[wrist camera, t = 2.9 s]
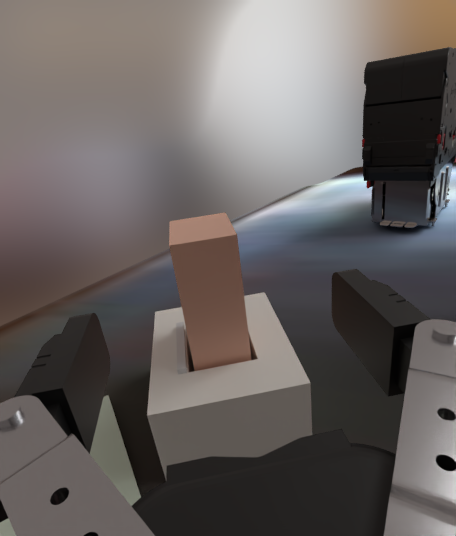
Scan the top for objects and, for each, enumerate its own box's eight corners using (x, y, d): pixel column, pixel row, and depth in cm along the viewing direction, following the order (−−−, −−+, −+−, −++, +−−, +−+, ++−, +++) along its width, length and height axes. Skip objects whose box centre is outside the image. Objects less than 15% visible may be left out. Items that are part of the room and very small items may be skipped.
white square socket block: (168, 364, 35) (154, 308, 32) (269, 345, 35) (264, 288, 33) (166, 482, 24) (145, 410, 21) (312, 450, 24) (310, 377, 22)
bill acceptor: (454, 199, 69) (476, 49, 59) (427, 240, 53) (450, 46, 43) (396, 196, 76) (406, 60, 65) (357, 232, 60) (362, 61, 49)
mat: (110, 400, 31) (108, 395, 31) (150, 525, 21) (148, 519, 21) (-7, 451, 28) (-10, 445, 27) (-24, 629, 18) (-29, 623, 18)
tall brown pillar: (200, 375, 31) (169, 221, 25) (245, 366, 31) (225, 212, 26) (204, 420, 27) (169, 245, 21) (257, 409, 27) (236, 234, 21)
